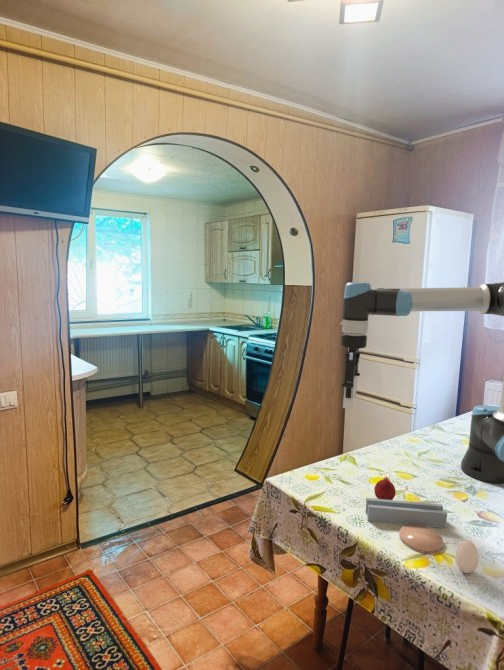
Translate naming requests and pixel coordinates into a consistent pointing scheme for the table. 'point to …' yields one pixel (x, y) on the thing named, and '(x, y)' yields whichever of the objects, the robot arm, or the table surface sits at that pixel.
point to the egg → (467, 556)
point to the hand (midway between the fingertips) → (349, 401)
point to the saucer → (421, 538)
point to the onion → (385, 489)
